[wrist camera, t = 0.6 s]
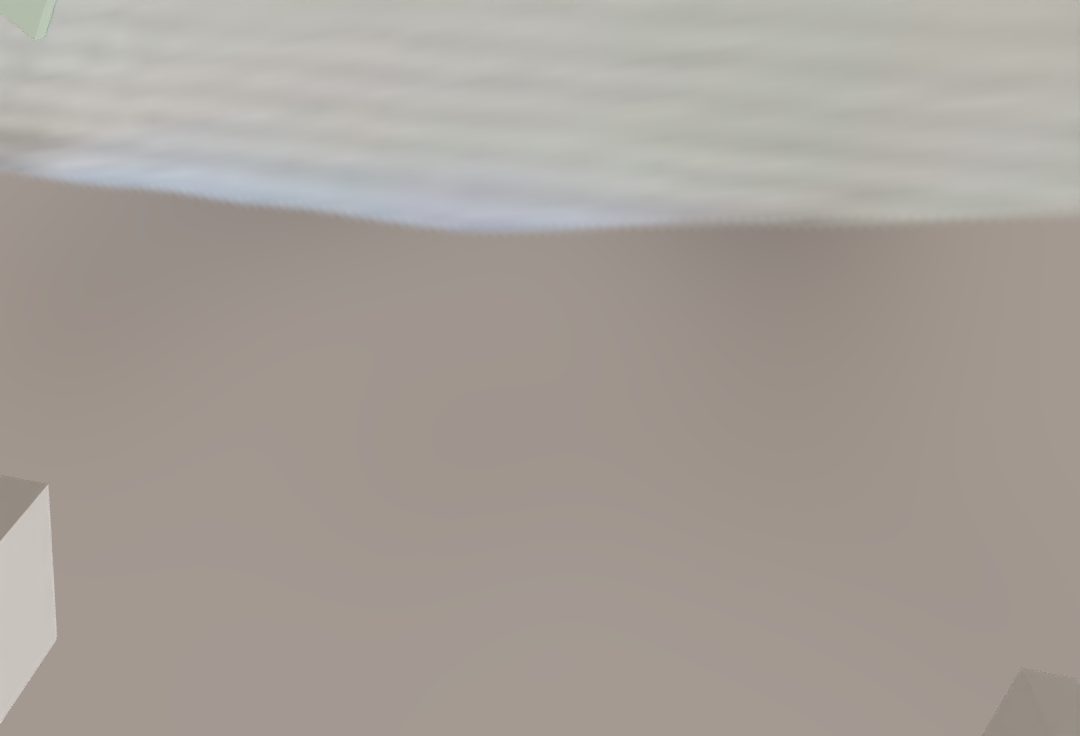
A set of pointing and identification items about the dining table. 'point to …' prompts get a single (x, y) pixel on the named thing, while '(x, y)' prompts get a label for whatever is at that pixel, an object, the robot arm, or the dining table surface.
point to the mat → (29, 15)
